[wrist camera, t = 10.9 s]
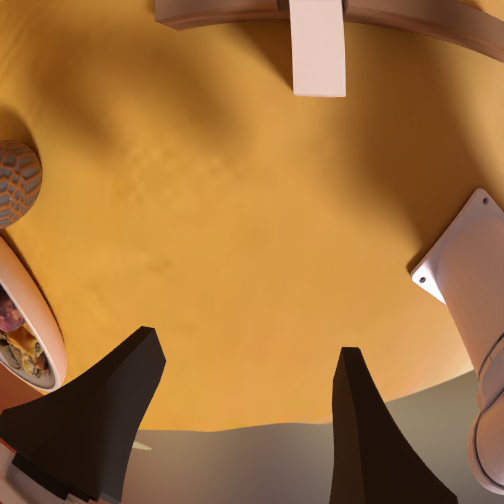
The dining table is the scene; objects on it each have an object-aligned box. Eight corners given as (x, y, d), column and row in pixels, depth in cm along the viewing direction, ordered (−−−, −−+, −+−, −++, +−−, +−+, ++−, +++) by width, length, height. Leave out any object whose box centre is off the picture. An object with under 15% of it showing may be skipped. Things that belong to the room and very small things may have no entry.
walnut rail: (500, 38, 9) (527, 34, 6) (502, 62, 10) (530, 62, 7) (177, 5, 12) (154, -8, 9) (178, 30, 13) (154, 21, 10)
